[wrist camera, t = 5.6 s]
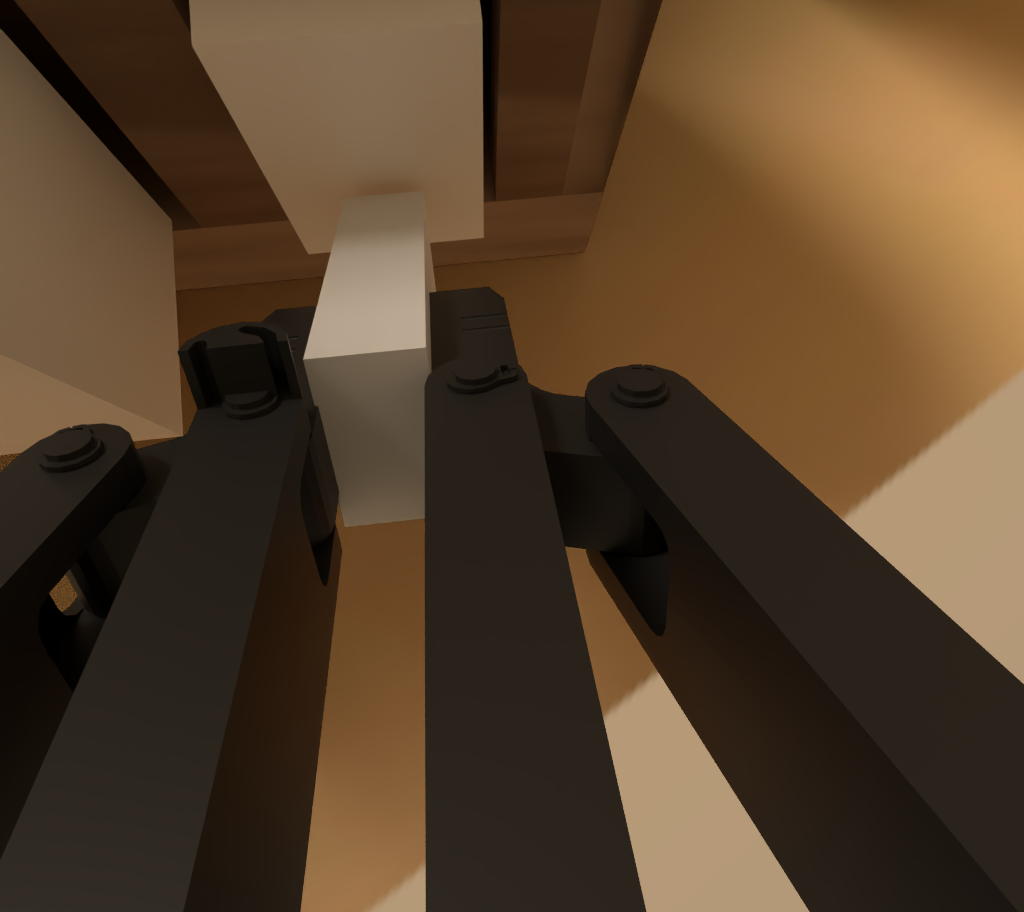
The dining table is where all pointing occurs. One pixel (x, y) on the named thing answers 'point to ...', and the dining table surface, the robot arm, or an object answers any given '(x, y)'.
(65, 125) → the middle button
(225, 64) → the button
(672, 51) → the dining table surface
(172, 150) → the console
